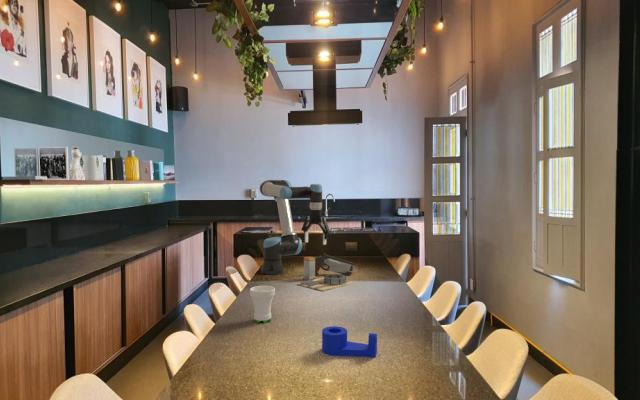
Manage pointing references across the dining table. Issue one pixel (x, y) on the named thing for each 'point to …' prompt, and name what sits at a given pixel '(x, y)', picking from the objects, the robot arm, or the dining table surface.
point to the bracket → (346, 343)
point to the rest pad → (311, 283)
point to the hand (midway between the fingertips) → (315, 243)
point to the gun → (333, 265)
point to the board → (324, 285)
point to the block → (309, 268)
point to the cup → (262, 302)
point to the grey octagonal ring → (334, 279)
